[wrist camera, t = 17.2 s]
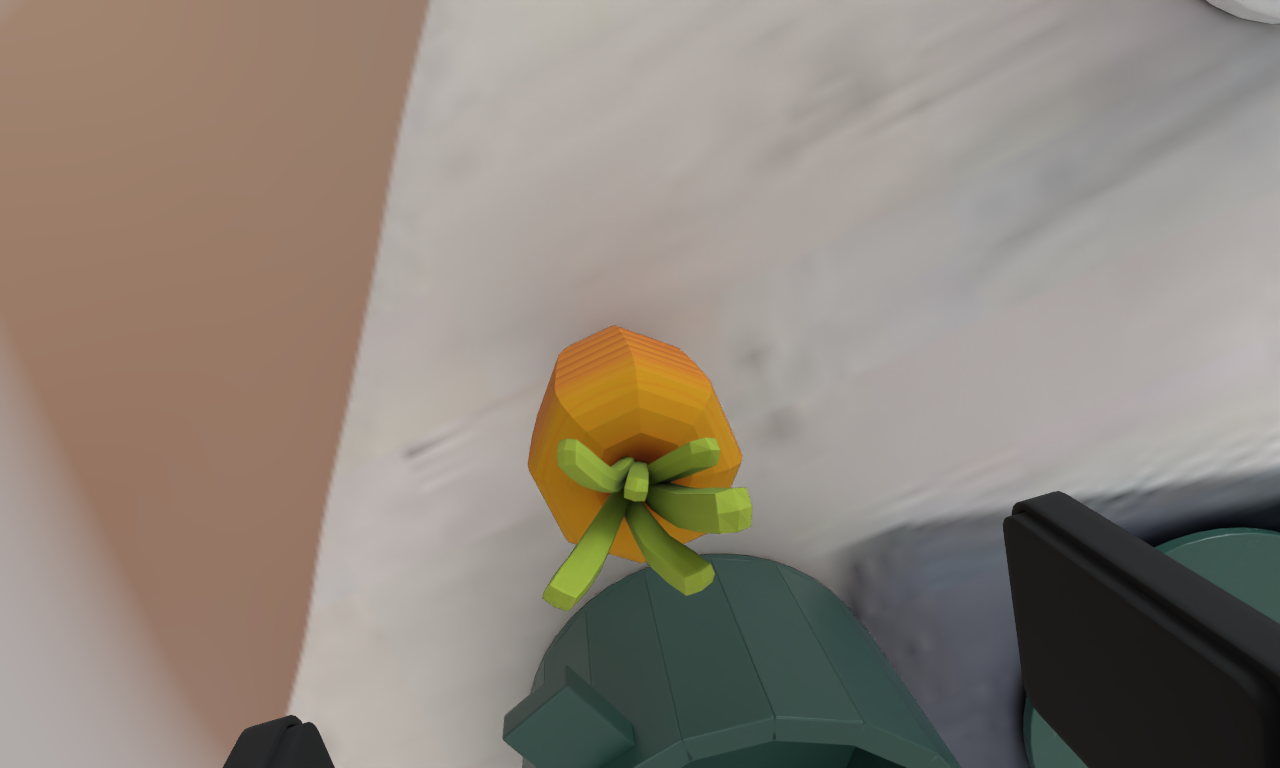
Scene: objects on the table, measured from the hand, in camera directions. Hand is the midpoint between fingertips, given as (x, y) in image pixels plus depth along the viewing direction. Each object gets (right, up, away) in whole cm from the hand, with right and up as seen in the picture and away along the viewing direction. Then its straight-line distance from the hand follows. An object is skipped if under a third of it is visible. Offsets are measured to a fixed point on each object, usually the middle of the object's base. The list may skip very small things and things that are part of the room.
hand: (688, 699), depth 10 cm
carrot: (-2, +5, +18) cm, 19 cm away
